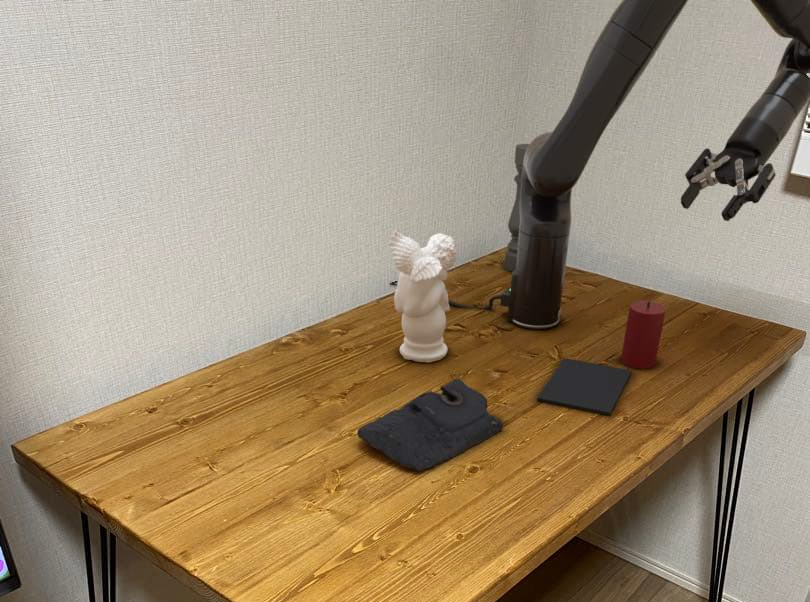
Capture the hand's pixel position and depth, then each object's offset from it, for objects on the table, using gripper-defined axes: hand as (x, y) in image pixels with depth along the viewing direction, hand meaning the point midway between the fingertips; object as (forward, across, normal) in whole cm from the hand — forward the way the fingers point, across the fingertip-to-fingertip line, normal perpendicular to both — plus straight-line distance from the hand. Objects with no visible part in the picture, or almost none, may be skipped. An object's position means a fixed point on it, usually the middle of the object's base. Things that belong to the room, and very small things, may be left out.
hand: (703, 211), depth 151 cm
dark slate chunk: (+59, +1, -26) cm, 64 cm away
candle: (+26, +2, +7) cm, 27 cm away
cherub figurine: (+47, -21, -14) cm, 54 cm away
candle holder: (+14, -47, +19) cm, 52 cm away
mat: (+36, +4, -3) cm, 37 cm away
